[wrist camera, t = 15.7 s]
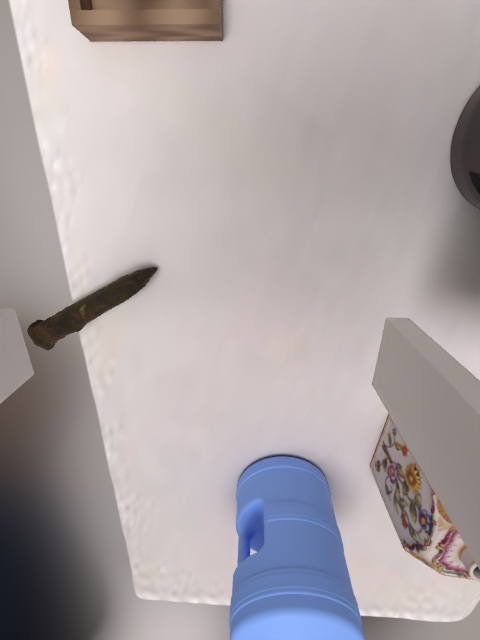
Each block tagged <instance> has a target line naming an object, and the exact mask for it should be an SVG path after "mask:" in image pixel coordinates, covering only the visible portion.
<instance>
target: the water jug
mask: <svg viewBox="0 0 480 640" xmlns="http://www.w3.org/2000/svg"><path fill="white" fill-rule="evenodd" d="M236 530H237V533H238V535H239V544H238V567H237V568H236V570H235V572H234V575H233V589H232V598H231V605H230V640H364V635H363V631H362V623H361V617H360V613H359V609H358V605H357V601H356V598H355V596H354V594H353V589H352V585H351V581H350V577H349V573H348V569H347V564H346V560H345V556H344V549H343V543H342V539H341V535H340V532H339V529H338V526H337V523H336V519H335V515H334V510H333V506H332V502H331V495H330V490H329V486H328V482H327V480H326V478H325V476H324V475H323V474H322V472H321V471H320V470H319V469H318V468H317V467H315V466H314V465H312V464H311V463H309V462H307V461H304V460H302V459H299V458H294V457H287V456H279V457H271V458H267V459H263V460H261V461H258V462H256V463H255V464H253V465H251V466H250V467H249V468H248V469H247V470H246V471H245V472H244V473H243V474H242V476H241V477H240V479H239V482H238V485H237V514H236ZM250 548H251V549H253V550H255V551H257V553H255V554H253V555H251V556H250Z"/></svg>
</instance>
